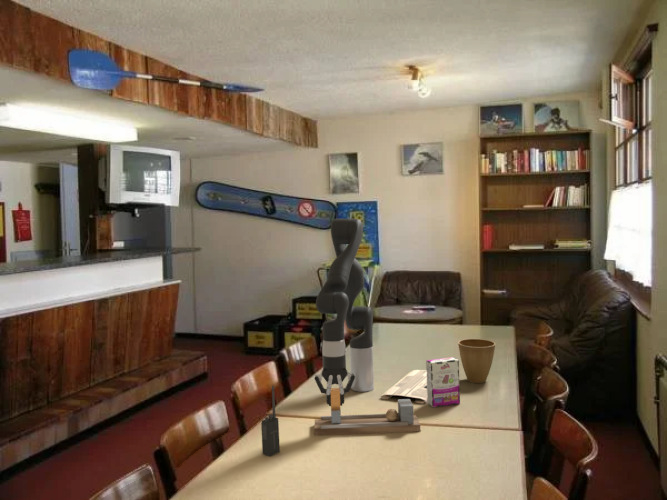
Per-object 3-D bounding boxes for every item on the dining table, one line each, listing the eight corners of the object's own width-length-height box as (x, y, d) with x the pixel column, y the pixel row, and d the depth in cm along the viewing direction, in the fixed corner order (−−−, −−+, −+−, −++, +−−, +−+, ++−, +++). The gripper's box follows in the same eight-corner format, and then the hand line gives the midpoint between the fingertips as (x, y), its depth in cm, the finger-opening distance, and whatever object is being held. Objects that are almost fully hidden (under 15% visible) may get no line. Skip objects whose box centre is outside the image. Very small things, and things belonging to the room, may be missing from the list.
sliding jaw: (331, 418, 192) (330, 386, 191) (340, 418, 192) (339, 386, 192) (331, 426, 186) (330, 392, 185) (341, 425, 186) (340, 392, 185)
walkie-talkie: (272, 449, 174) (270, 384, 173) (280, 451, 172) (278, 385, 171) (261, 454, 171) (258, 388, 170) (269, 457, 169) (266, 390, 167)
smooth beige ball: (385, 419, 191) (385, 407, 191) (397, 418, 191) (397, 406, 191) (386, 423, 187) (386, 411, 187) (399, 422, 187) (398, 410, 187)
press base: (314, 425, 193) (314, 401, 193) (415, 421, 194) (415, 397, 194) (314, 435, 184) (313, 410, 184) (420, 431, 185) (419, 406, 185)
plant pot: (454, 383, 235) (453, 344, 234) (464, 374, 248) (463, 337, 247) (491, 387, 228) (490, 347, 227) (499, 377, 241) (498, 340, 241)
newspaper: (425, 405, 211) (425, 398, 211) (376, 399, 220) (376, 392, 219) (451, 378, 244) (451, 372, 244) (407, 374, 253) (407, 368, 252)
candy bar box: (454, 400, 215) (453, 356, 214) (460, 404, 210) (459, 359, 209) (426, 403, 212) (425, 359, 211) (432, 407, 207) (431, 362, 206)
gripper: (354, 349, 191) (356, 400, 192) (312, 351, 191) (314, 402, 192) (356, 355, 184) (357, 408, 185) (312, 356, 184) (313, 409, 185)
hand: (335, 404), depth 188 cm, fingers closed on sliding jaw, 3 cm apart
